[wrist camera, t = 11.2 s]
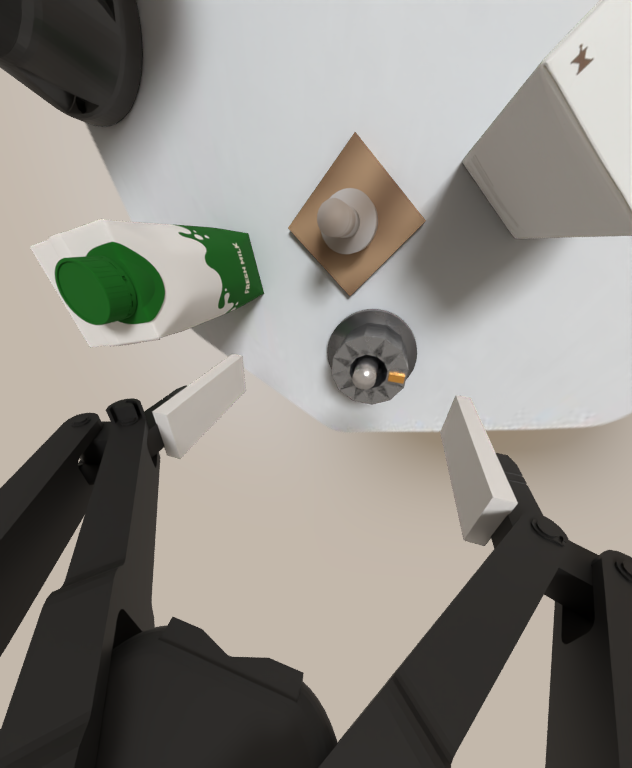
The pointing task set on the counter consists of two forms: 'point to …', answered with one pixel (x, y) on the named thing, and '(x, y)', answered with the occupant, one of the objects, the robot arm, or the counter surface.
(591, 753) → the robot arm
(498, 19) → the counter surface
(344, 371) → the clutch ring
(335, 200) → the stand
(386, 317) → the disc
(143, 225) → the milk carton
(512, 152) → the supplement box
